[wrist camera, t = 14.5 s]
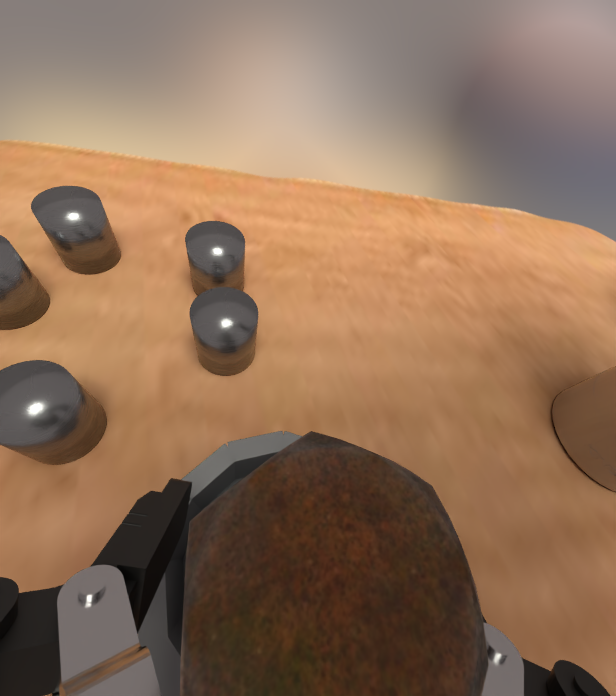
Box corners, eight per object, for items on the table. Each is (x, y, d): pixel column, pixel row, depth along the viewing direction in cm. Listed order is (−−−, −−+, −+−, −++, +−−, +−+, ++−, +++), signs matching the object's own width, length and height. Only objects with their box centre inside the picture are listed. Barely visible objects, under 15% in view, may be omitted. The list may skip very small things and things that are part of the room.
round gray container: (274, 417, 23) (285, 382, 18) (402, 555, 20) (457, 558, 15) (111, 558, 17) (60, 562, 12) (255, 783, 14) (265, 910, 9)
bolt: (249, 654, 16) (294, 1063, 3) (198, 559, 17) (95, 585, 5) (336, 565, 18) (545, 601, 6) (284, 489, 20) (362, 390, 7)
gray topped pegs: (169, 208, 33) (159, 159, 28) (298, 331, 28) (309, 292, 24) (-70, 294, 23) (-137, 238, 19) (59, 502, 18) (7, 489, 14)
